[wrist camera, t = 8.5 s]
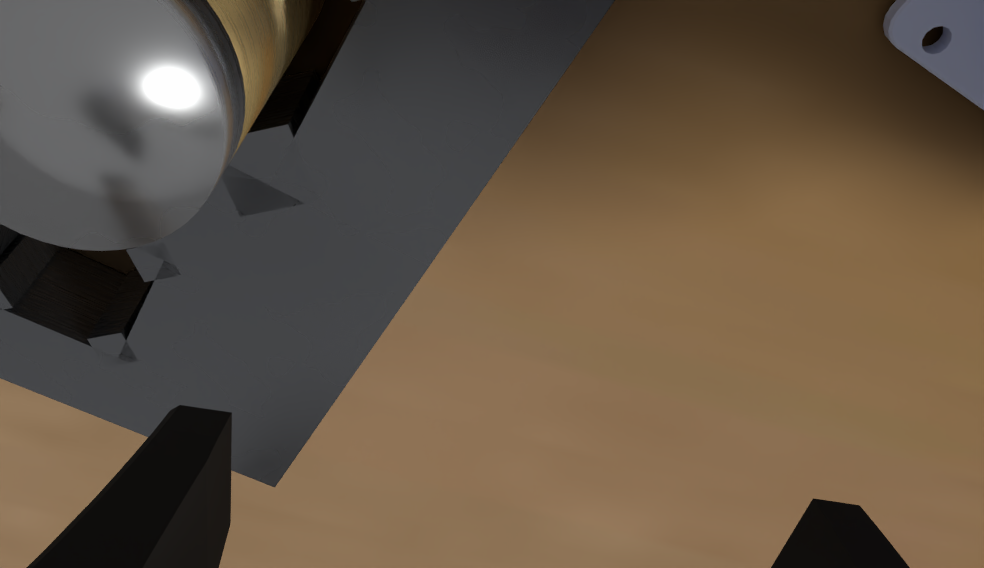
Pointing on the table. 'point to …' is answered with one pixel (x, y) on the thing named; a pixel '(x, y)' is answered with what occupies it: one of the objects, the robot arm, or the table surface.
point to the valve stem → (130, 109)
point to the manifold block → (296, 231)
